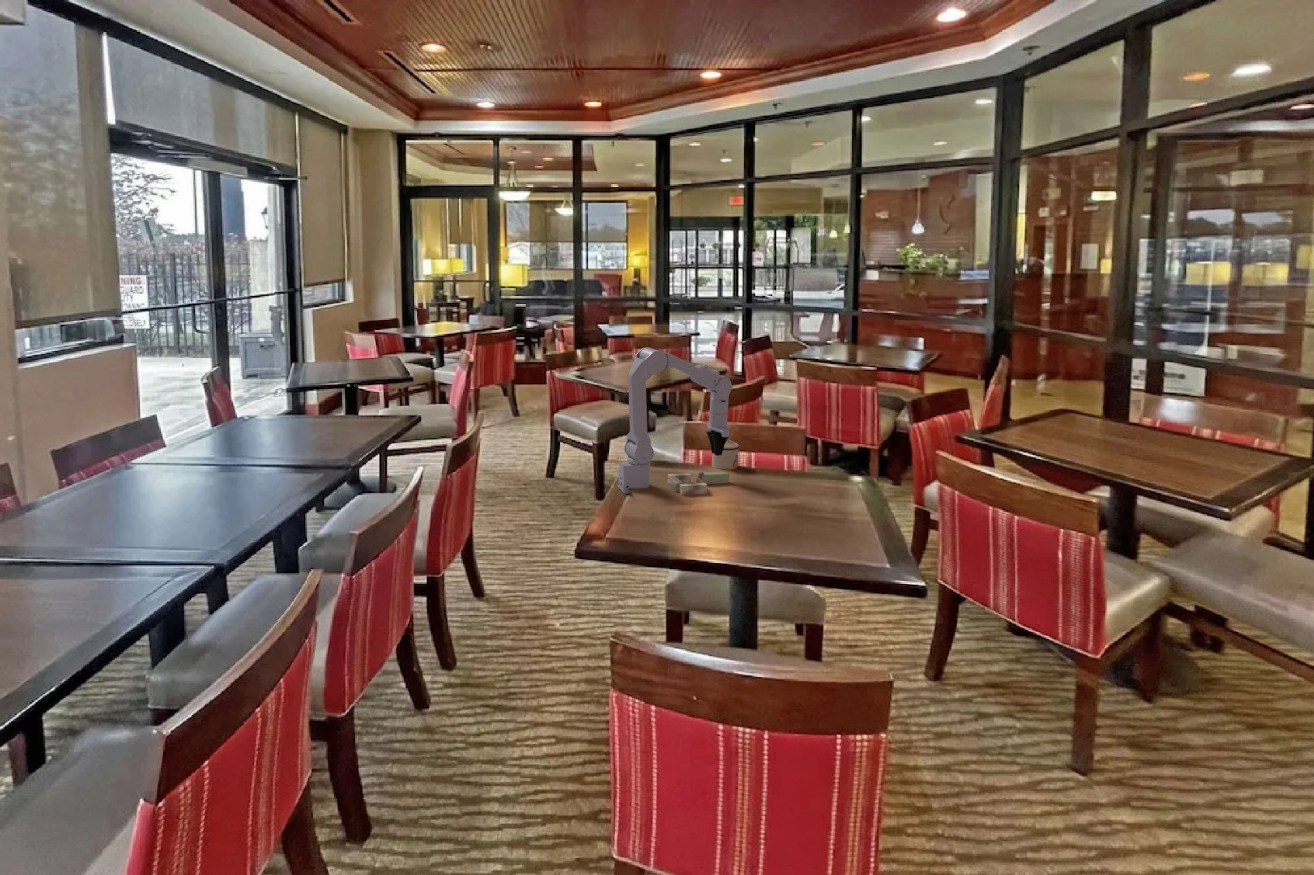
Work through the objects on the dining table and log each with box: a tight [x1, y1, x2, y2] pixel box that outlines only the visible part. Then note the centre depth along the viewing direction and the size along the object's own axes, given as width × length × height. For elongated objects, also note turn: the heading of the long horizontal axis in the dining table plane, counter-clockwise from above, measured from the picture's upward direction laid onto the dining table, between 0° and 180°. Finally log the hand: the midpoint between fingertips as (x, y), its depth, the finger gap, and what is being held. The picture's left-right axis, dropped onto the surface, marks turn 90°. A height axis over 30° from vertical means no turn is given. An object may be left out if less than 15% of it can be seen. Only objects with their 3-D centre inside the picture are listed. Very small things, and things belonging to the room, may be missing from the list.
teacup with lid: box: [711, 437, 740, 470], centre depth 306 cm, size 12×9×12 cm
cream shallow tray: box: [667, 472, 708, 496], centre depth 279 cm, size 14×14×4 cm
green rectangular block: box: [697, 471, 730, 485], centre depth 285 cm, size 2×10×3 cm, turn 107°
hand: (716, 454), depth 289 cm, fingers open, 2 cm apart
